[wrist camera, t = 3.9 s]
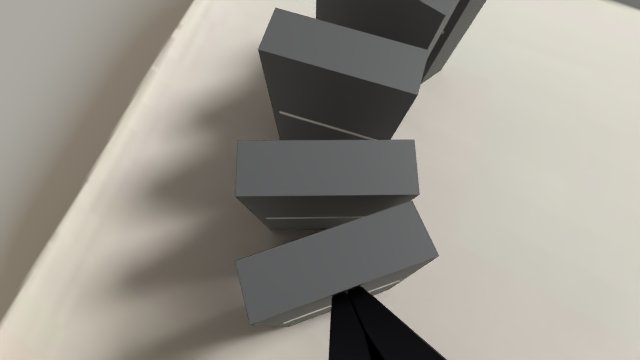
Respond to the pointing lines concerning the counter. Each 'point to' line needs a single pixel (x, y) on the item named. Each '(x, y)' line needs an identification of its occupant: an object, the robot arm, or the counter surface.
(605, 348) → the counter surface
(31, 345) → the counter surface
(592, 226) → the counter surface
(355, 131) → the domino
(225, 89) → the counter surface
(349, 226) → the domino
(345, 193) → the domino
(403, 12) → the domino
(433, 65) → the domino
